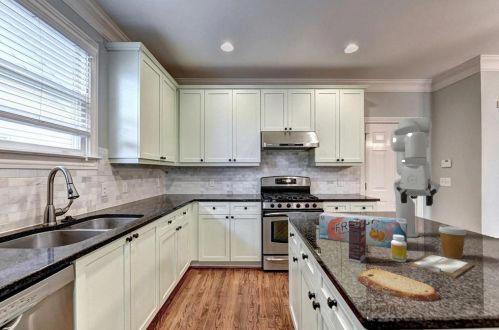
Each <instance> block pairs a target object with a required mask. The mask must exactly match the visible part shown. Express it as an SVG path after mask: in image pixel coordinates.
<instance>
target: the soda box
mask: <svg viewBox="0 0 499 330" xmlns="http://www.w3.org/2000/svg"><path fill="white" fill-rule="evenodd" d="M355 218H359V219H366V246H370V247H371V246H372V247H379V248H385V247H386V248H387V249H391V241H392V240H394V239H393V235H402V236H404V241H405V242H406V251H407V248H408V237H407V222H406V219H400V218H396V217H388V216H375V215H367V214H354V213H347V212H335V211H334V212H333V211H324V212H322V213H321V214H319V216H318V238H319V239H325V240H331V241H338V242H343V243H344V242H345V243H349V221H351V220H353V219H355Z"/></svg>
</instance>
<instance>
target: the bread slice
mask: <svg viewBox="0 0 499 330" xmlns="http://www.w3.org/2000/svg"><path fill="white" fill-rule="evenodd" d="M356 280H357V281H358V282H359V283H361V284H363V286H365V287H367V288H369V289H371V290H373V291H376V292H378V293H382V294H385V295H387V296H388V295H389V296H393V297H397V298H401V299H405V300H413V301H420V302H423V301H424V302H431V301H437V300H438V299H439V295H438V293H437V291H436V289H435V288H434V287H433V286H432V285H429V284H428V283H427V284H426V283H424V282H421V281H418V280H416V279H413V278H410V277H407V276H404V275H401V274H397V273H393V272H392V271H391V272H390V271H387V270H383V269H380V268H377V267H376V268H371V269H367V270H364V271H362V272H360V274H359V275H358V276H357V279H356Z"/></svg>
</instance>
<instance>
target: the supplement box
mask: <svg viewBox="0 0 499 330" xmlns="http://www.w3.org/2000/svg"><path fill="white" fill-rule="evenodd" d="M366 254H367V245H366V219H359V218H355V219H353V220H351V221H349V242H348V261H350V262H353V263H358V264H361V262H363V261H364V260H365V258H366V257H367V255H366Z"/></svg>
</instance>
